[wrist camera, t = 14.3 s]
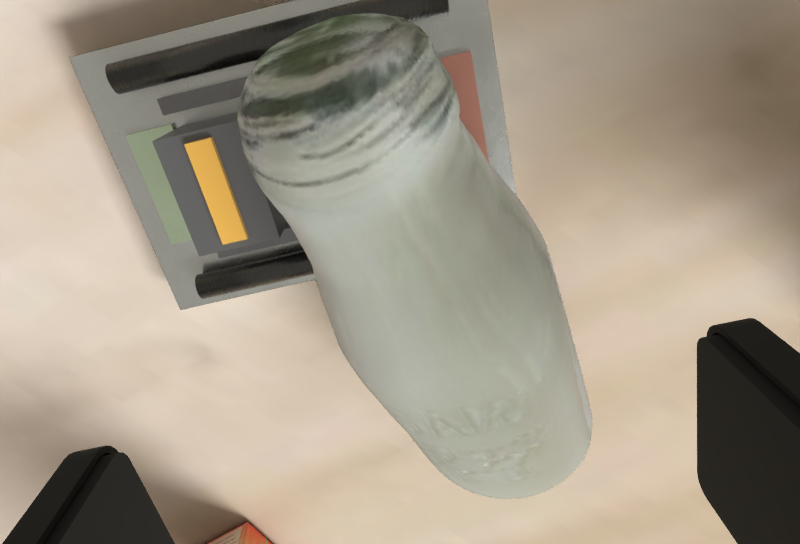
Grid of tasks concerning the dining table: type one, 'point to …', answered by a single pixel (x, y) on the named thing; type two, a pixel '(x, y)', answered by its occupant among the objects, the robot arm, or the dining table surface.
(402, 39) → the glass bottle
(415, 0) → the breaker panel
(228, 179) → the breaker toggle
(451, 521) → the dining table surface
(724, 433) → the robot arm
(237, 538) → the cracker box
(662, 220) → the dining table surface
